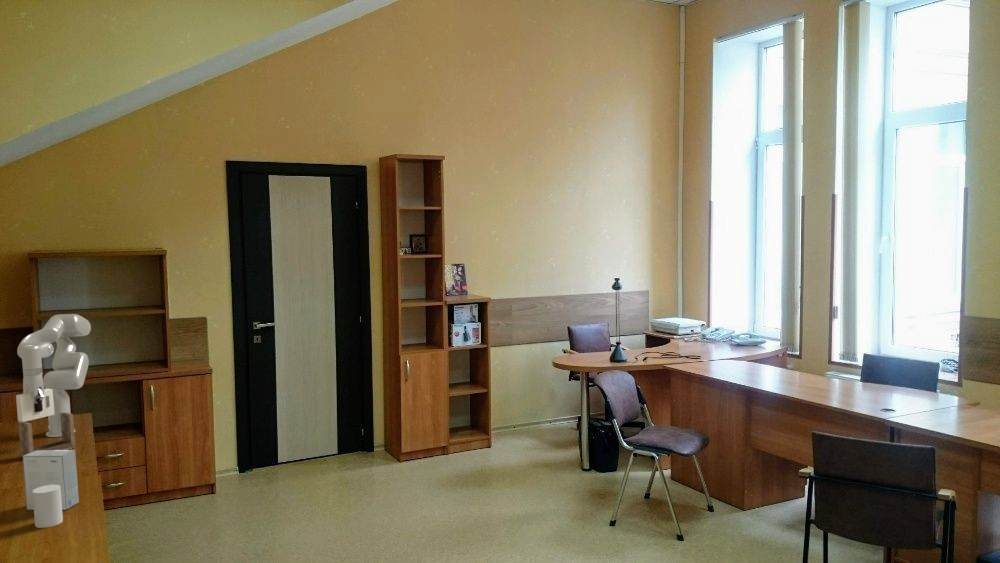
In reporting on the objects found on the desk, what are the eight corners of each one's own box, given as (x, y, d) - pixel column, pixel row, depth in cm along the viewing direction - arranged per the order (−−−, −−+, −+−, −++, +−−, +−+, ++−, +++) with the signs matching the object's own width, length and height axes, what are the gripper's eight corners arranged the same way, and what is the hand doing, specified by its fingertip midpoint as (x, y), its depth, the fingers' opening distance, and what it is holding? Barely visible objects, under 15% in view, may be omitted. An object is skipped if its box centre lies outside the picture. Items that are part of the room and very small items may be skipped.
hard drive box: (80, 502, 272) (76, 449, 271) (65, 510, 265) (62, 456, 263) (40, 502, 274) (36, 449, 272) (25, 510, 266) (21, 455, 265)
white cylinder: (42, 519, 257) (40, 485, 257) (67, 517, 258) (65, 484, 257) (30, 528, 249) (27, 493, 248) (55, 527, 250) (52, 492, 249)
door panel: (18, 420, 338) (15, 395, 337) (50, 413, 350) (48, 388, 349) (23, 422, 336) (20, 396, 335) (55, 414, 348) (53, 389, 347)
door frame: (21, 457, 331) (18, 422, 330) (65, 445, 347) (63, 412, 346) (30, 460, 326) (27, 424, 325) (75, 448, 343) (73, 414, 342)
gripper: (14, 371, 342) (18, 410, 344) (33, 375, 333) (37, 415, 335) (32, 368, 349) (35, 406, 350) (51, 372, 340) (54, 411, 341)
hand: (36, 410), depth 343 cm, fingers closed on door panel, 4 cm apart
